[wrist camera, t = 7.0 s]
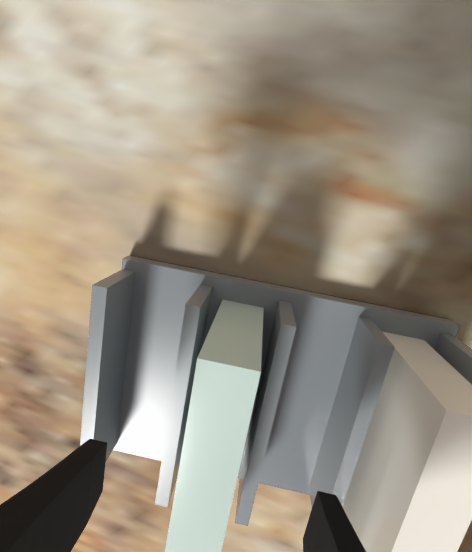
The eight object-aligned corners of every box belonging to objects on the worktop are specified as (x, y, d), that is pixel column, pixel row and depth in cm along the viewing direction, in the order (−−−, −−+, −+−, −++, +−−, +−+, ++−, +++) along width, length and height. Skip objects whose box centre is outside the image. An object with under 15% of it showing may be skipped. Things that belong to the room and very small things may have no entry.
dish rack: (384, 499, 19) (412, 573, 15) (110, 437, 20) (74, 493, 16) (450, 319, 16) (503, 356, 13) (129, 255, 17) (91, 272, 13)
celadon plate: (230, 461, 18) (213, 585, 13) (195, 453, 18) (161, 572, 13) (263, 307, 16) (260, 371, 10) (222, 299, 16) (197, 358, 10)
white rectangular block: (370, 492, 18) (419, 634, 12) (333, 484, 18) (364, 621, 12) (423, 340, 16) (515, 425, 10) (381, 331, 16) (446, 410, 10)
